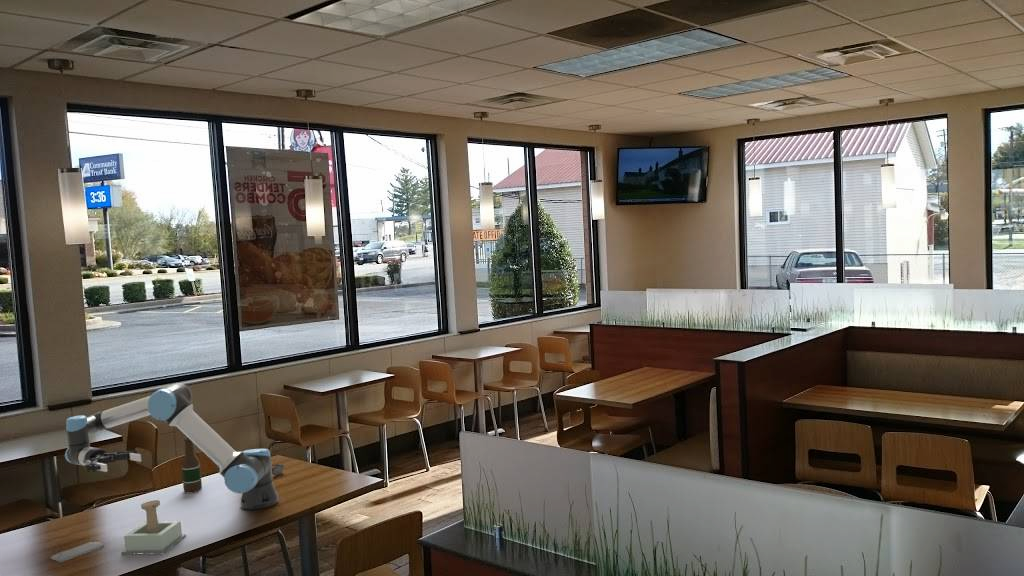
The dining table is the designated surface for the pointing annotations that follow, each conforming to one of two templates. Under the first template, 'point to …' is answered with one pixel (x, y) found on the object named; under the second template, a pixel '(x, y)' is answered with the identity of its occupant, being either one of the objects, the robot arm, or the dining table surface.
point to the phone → (77, 551)
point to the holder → (153, 538)
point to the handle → (151, 515)
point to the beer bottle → (191, 469)
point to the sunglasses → (277, 469)
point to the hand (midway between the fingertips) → (123, 463)
